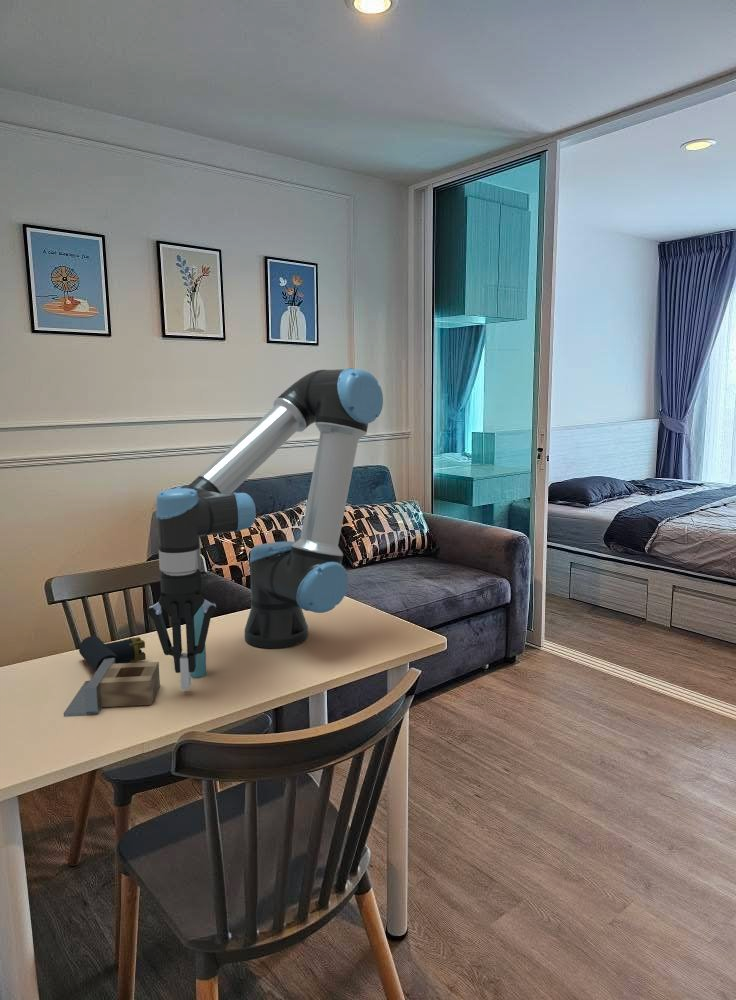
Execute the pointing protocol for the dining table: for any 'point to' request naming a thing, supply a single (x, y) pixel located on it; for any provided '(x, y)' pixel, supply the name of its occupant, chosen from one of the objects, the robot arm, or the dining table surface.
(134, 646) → the pipe connector
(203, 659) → the dowel
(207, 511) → the robot arm
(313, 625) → the dining table surface
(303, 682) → the dining table surface
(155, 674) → the socket block
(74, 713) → the grey wedge ramp
